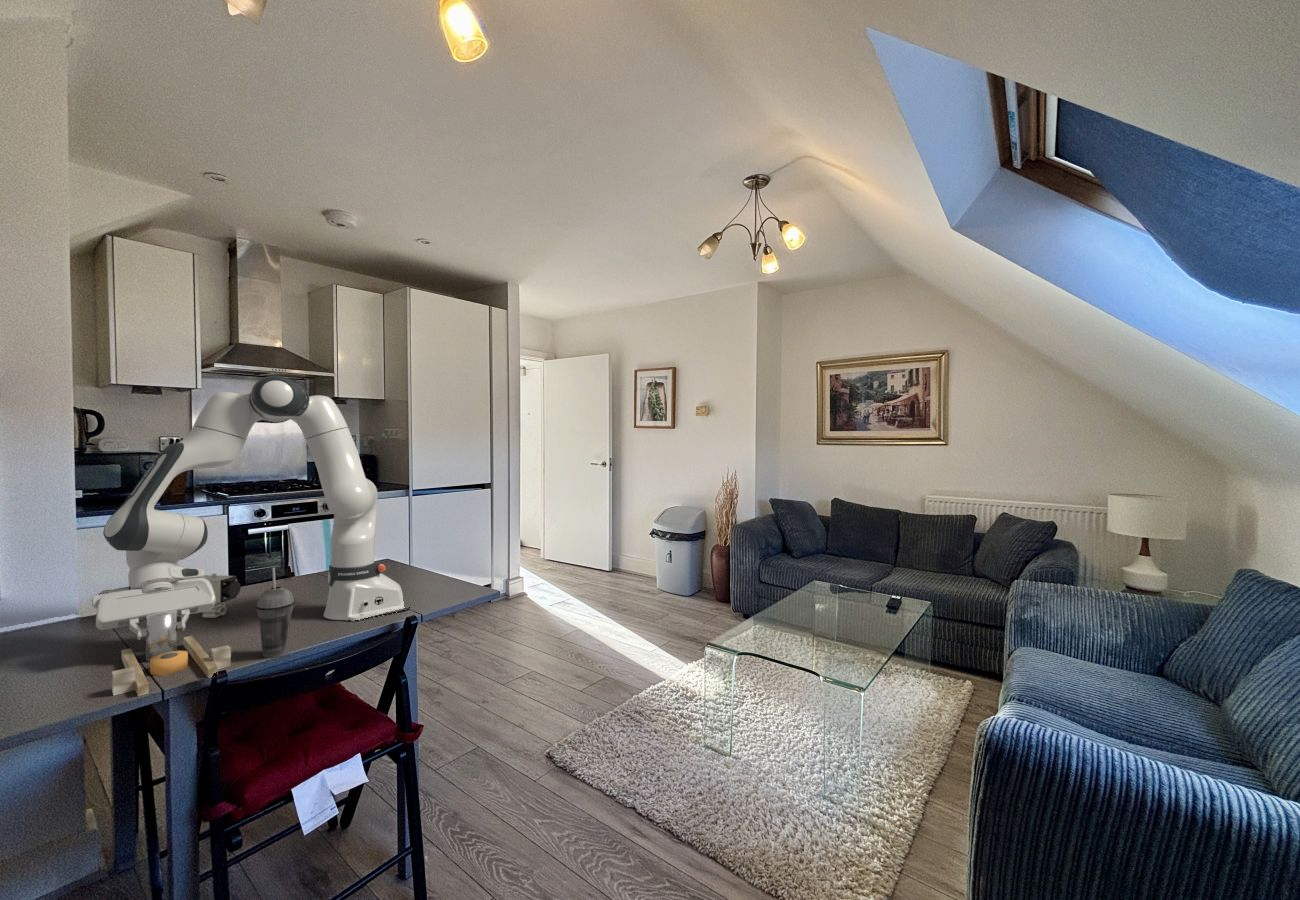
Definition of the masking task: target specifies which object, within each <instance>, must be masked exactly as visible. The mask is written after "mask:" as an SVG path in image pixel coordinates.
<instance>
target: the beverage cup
mask: <svg viewBox="0 0 1300 900" xmlns="http://www.w3.org/2000/svg"><path fill="white" fill-rule="evenodd" d="M271 571H272V572H271V573H272V587H270V588H268V589H266V590H265V591H263V592H262V593H261V594H260V595H259V597H258V599H257V603H256V606H255V609H256V612H257V616H258V619H259V620H258V621H259V630H260V640H261V641H260V642H261V651H262V655H263V658H265V659H273V658H279V657H282V656H284V655H286V654H287V653H288V647H289V642H290V633H291V632H290V631H291V623H292V614H293V609H294V604H295V599H294V596H293V593H292V592H291V590H289V589H288V588H286V587H284V586H277V585H276V584H277V583H276V568H275V567H271Z"/></svg>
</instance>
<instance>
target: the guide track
mask: <svg viewBox="0 0 1300 900" xmlns="http://www.w3.org/2000/svg"><path fill="white" fill-rule="evenodd" d="M183 647H184V648H185V651H187V652H188V654H189V655H190V656H191V658H192V659H193V660H194V661H195V663H196V664H197V666H199V668H200V670H202V672H203V674H204V675H205V676H206V677H207V678H208V679H210V678H213V677H212V676H213V674H214V673H216V672H217V673H218V670H220V669H224V668H229V667H231V666H232V665H231V664H232V659H231V657H232V652H231V651H232V648H231V647H230V645H228V644H227V645H222V646H218V647H214V648H210V655H209V654H208V653H207V652H206V651H205V649H204V648H203V647H202V646H201V644H200V643H199V642H197V640H196V638H194V636H193V635H189V636H184V637H183ZM121 661H122V664H123V666H124V668H122V669H117V670H113V671H111V692H112V695H113V696H118V695H122V694H125V693H130V692H133V691H134V692H135V693H136V695H137V697H141V696H145V695H148V694H149V684H150V683H149V681H148V679H147V678H146V676H145V674H144V671H143V670H142V667H141V666H140V664H139V662H138V660H137V658H136V656H135V653H134V652H133V650H132V648H126V649H121Z"/></svg>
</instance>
